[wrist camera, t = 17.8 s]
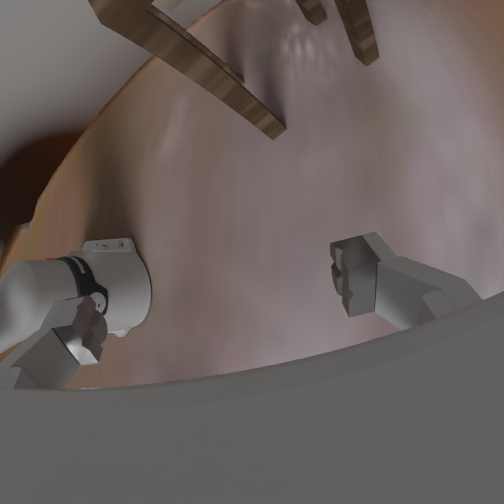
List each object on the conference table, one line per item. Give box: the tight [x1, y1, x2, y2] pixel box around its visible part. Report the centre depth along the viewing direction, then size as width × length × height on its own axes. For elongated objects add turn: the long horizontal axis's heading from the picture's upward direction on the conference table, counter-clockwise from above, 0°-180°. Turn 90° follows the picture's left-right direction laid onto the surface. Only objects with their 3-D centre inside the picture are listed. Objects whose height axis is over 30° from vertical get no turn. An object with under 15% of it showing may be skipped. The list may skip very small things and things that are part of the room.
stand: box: [88, 0, 379, 140], centre depth 27 cm, size 14×20×30 cm
